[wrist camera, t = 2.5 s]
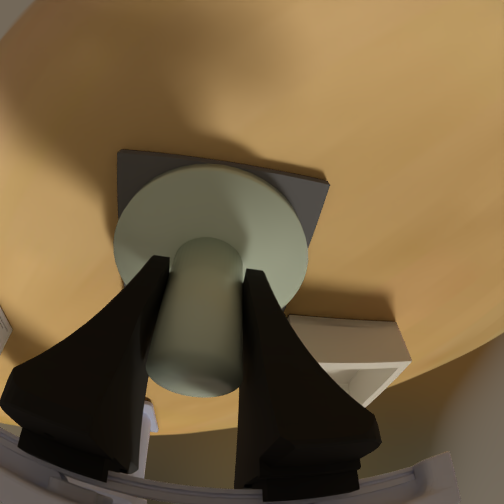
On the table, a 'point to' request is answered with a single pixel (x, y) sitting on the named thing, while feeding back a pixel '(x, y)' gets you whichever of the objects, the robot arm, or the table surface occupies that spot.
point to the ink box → (4, 330)
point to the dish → (355, 352)
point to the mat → (290, 185)
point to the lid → (208, 267)
